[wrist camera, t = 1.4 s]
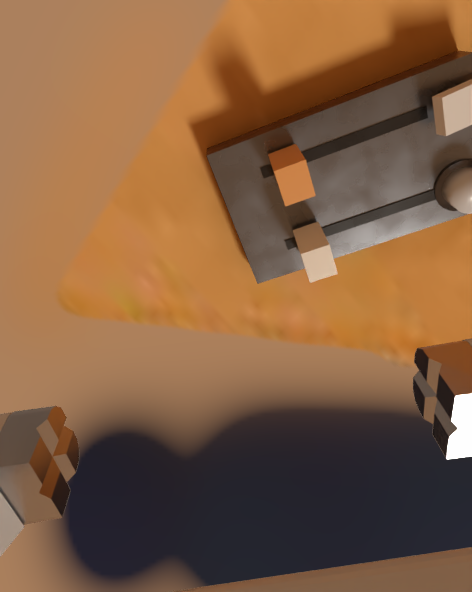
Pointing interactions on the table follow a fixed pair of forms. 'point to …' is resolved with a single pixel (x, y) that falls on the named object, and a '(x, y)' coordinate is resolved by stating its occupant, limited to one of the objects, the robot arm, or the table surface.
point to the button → (459, 189)
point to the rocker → (453, 109)
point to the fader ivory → (315, 252)
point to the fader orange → (292, 175)
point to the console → (348, 168)
